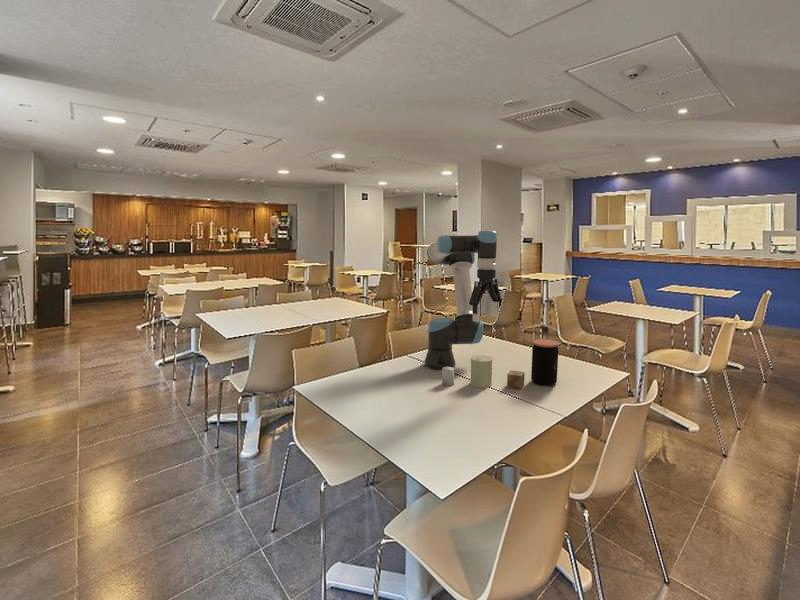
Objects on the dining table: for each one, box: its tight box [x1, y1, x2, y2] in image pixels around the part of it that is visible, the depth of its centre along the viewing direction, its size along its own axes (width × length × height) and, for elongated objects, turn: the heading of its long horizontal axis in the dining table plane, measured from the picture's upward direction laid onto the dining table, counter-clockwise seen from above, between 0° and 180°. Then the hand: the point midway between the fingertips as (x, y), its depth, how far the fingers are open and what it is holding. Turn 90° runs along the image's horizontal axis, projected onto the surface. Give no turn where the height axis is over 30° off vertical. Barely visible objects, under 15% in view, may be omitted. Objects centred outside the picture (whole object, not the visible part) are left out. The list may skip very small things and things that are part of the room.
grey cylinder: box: [441, 367, 455, 387], centre depth 185 cm, size 5×5×7 cm
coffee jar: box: [530, 338, 560, 387], centre depth 186 cm, size 11×11×18 cm
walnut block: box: [506, 369, 526, 391], centre depth 182 cm, size 6×6×6 cm
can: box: [469, 354, 493, 389], centre depth 185 cm, size 9×9×12 cm
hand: (485, 319), depth 182 cm, fingers open, 13 cm apart
